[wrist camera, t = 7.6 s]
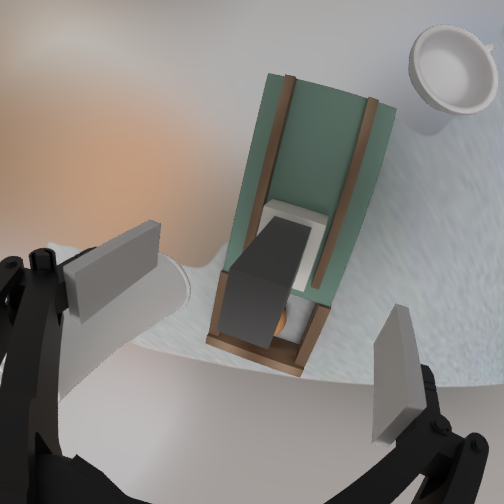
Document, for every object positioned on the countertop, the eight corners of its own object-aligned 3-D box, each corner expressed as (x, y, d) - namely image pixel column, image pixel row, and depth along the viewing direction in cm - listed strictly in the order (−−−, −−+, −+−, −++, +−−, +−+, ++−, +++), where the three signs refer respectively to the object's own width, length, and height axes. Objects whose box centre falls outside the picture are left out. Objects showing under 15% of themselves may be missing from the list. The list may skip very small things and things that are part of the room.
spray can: (145, 326, 42) (27, 448, 19) (102, 264, 40) (-39, 362, 18) (202, 297, 37) (63, 461, 14) (152, 223, 35) (-35, 336, 13)
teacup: (434, 132, 23) (453, 132, 18) (384, 64, 22) (393, 48, 17) (501, 86, 19) (526, 80, 14) (454, 21, 18) (473, 3, 13)
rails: (377, 101, 21) (378, 100, 20) (320, 283, 28) (318, 289, 27) (287, 77, 23) (285, 74, 22) (243, 257, 30) (239, 262, 29)
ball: (291, 306, 34) (291, 307, 31) (279, 339, 34) (278, 344, 30) (258, 294, 35) (253, 293, 31) (246, 327, 35) (240, 330, 31)
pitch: (391, 111, 24) (396, 108, 21) (331, 292, 32) (329, 306, 29) (275, 79, 26) (268, 73, 23) (233, 258, 34) (223, 270, 31)
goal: (332, 292, 32) (330, 312, 28) (305, 355, 35) (299, 377, 32) (232, 258, 34) (218, 273, 30) (218, 324, 37) (205, 342, 34)
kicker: (328, 216, 26) (312, 286, 14) (308, 276, 28) (278, 373, 17) (272, 198, 27) (212, 252, 15) (256, 259, 29) (196, 342, 17)
